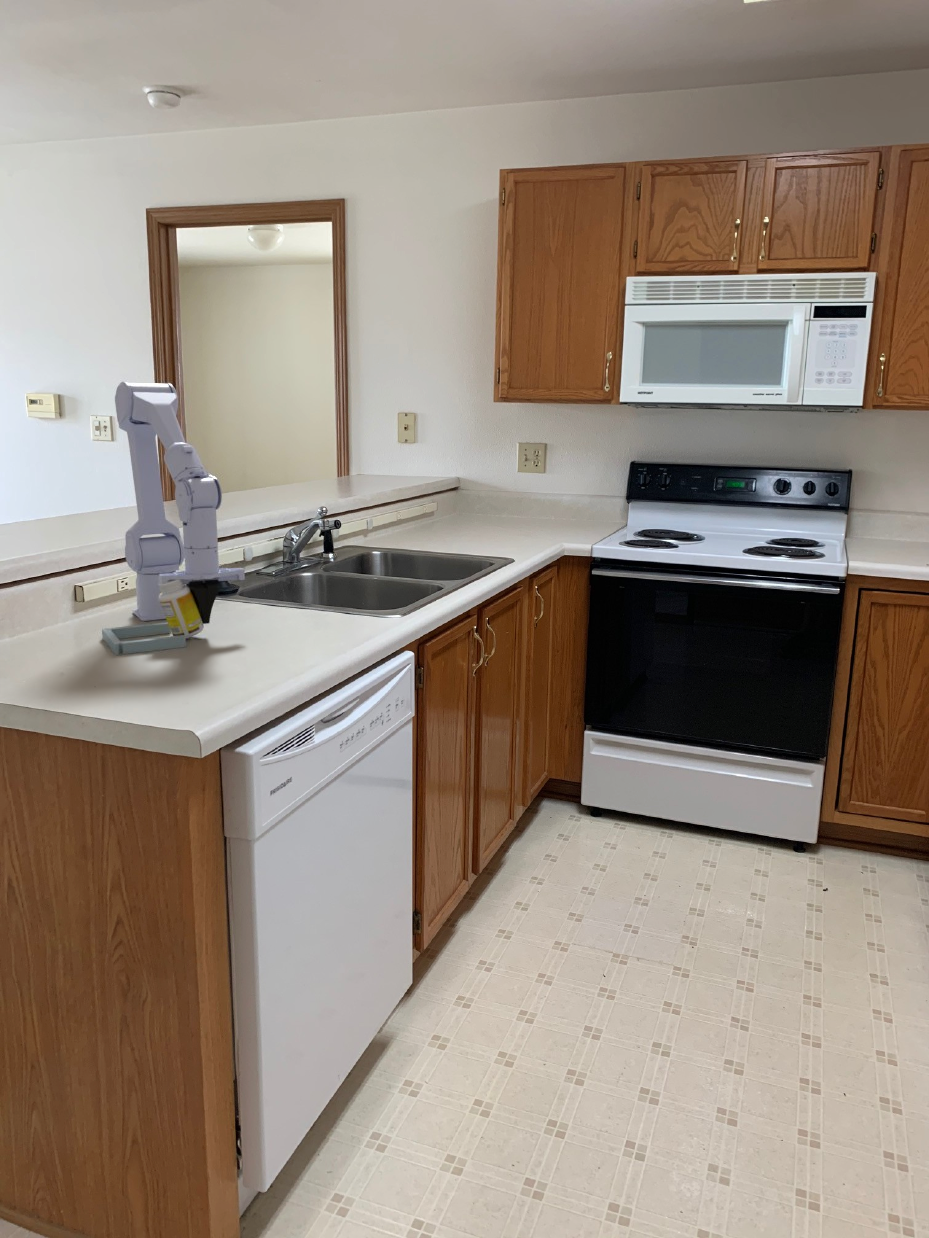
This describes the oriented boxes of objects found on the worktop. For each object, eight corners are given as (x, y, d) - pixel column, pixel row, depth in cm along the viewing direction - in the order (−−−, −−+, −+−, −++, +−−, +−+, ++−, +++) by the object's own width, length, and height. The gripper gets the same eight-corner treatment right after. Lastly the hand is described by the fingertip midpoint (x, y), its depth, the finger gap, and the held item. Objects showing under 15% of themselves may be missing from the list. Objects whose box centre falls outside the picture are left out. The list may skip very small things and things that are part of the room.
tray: (102, 638, 160) (101, 628, 160) (169, 631, 166) (168, 622, 166) (115, 655, 150) (114, 644, 150) (185, 646, 156) (185, 636, 155)
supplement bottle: (207, 624, 164) (187, 571, 161) (202, 635, 159) (182, 581, 155) (176, 632, 164) (156, 579, 160) (171, 643, 159) (150, 589, 155)
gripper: (163, 552, 153) (168, 631, 156) (248, 547, 160) (251, 622, 163) (154, 547, 159) (159, 623, 162) (236, 542, 166) (239, 615, 169)
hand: (205, 622), depth 163 cm, fingers closed
